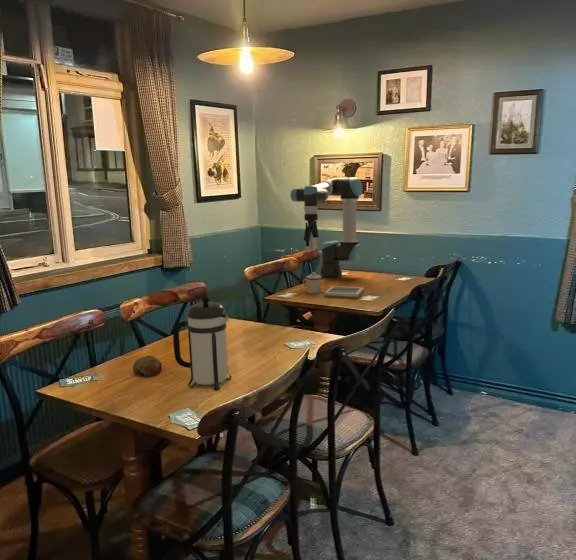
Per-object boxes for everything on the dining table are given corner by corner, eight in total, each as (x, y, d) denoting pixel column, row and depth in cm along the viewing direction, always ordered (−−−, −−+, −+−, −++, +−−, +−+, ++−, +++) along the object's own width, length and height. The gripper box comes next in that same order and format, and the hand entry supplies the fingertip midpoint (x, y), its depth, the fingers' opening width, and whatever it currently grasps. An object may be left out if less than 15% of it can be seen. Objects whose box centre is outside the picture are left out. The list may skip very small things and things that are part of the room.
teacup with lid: (324, 291, 310) (324, 271, 308) (316, 294, 303) (316, 274, 301) (307, 289, 317) (307, 270, 315) (299, 292, 310) (298, 272, 307)
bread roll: (131, 384, 188) (125, 369, 183) (142, 363, 196) (136, 348, 191) (158, 386, 186) (152, 370, 181) (167, 365, 194) (162, 349, 189)
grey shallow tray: (332, 290, 313) (332, 286, 312) (364, 291, 306) (364, 287, 306) (324, 296, 297) (324, 292, 296) (357, 298, 290) (357, 294, 290)
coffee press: (224, 371, 189) (220, 288, 183) (238, 386, 174) (234, 298, 168) (175, 379, 182) (169, 294, 176) (186, 396, 167) (179, 304, 162)
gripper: (311, 211, 314) (311, 247, 318) (297, 215, 291) (298, 253, 295) (323, 211, 311) (323, 247, 315) (310, 215, 288) (311, 253, 292)
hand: (311, 250), depth 305 cm, fingers open, 13 cm apart
